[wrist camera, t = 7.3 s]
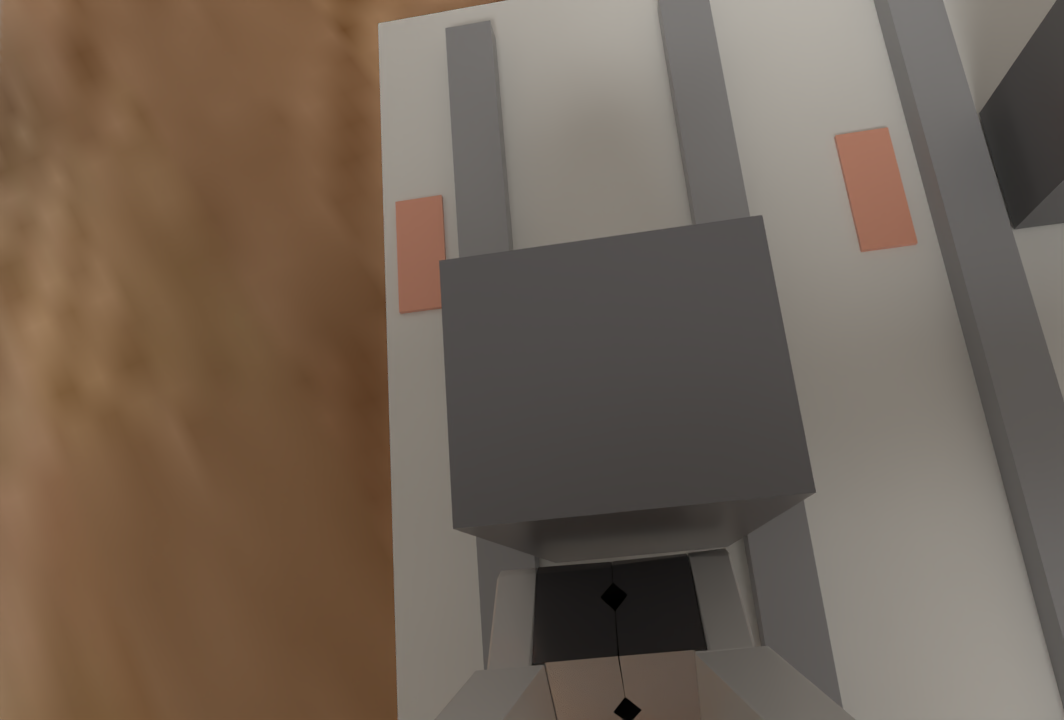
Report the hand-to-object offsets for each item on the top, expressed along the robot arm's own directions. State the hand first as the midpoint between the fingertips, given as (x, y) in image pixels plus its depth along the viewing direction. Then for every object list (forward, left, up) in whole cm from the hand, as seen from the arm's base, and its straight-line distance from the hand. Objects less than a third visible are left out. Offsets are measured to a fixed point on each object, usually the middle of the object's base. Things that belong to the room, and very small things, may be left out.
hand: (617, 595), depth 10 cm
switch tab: (+2, 0, -3) cm, 4 cm away
